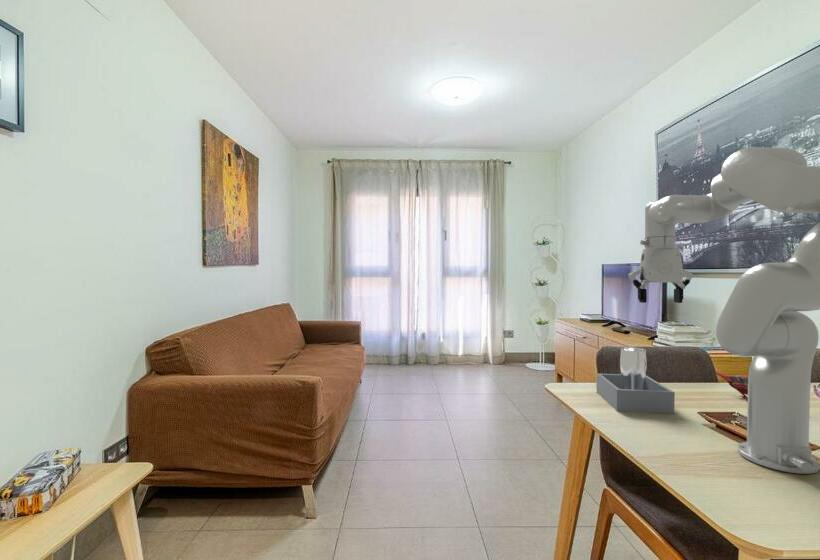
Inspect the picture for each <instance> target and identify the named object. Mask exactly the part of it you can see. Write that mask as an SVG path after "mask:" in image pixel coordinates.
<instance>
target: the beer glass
mask: <svg viewBox="0 0 820 560" xmlns="http://www.w3.org/2000/svg"><path fill="white" fill-rule="evenodd" d="M619 369H620V374H621V375H622V381H623V389H632V390H643V383H644V378H645V375H647V374H646V372H647V350H646V349H644V348H639V347H632V346H630V347H629V346H624V347H620V358H619Z"/></svg>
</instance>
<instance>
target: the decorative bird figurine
mask: <svg viewBox="0 0 820 560" xmlns="http://www.w3.org/2000/svg"><path fill="white" fill-rule="evenodd" d="M713 373H715V374H716V375H717V376H719V377H721V378H722V379H724V380H725V381H726V382H727V384H729V386H730V387H731V388H733V389H735V391H737V392H738V393H740V395H739V397H741V399H745V400H747V401H748V375H749V374H744V375H743V374H739V375H738V374H737V375H729V376H728V375H725V374H722V373H720V372H717V371H715V370H713Z"/></svg>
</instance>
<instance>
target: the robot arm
mask: <svg viewBox="0 0 820 560" xmlns="http://www.w3.org/2000/svg"><path fill="white" fill-rule="evenodd" d="M751 201H753V202H756V203H757V204H759V205H761V206H764V207H766V208H768V209H769V210H773V211H777V212H778V213H787V214H820V165H819V166H818V165H808V162H807V159H806V158H805V156H804V154H802V153H800V152H799V151H797V150H795V149H792V148H785V147H766V146H764V147H763V146H749V147H744V148H741V149H739V150H737V151H735V152H733V153H732V154H730V155H729V156H728V157H727V158H726V159H725V161H724V162H723V164H722V167H721V171H720V172H719V174H716V175H715V177H714V178H713V179H712V180H711V182H710V193H707V194H704V195H699V194H698V195H697V194H692V195H691V194H671V195H667V196H665V197H662V198H660V199H659V200H656V201H651V202H649V203H647V204H646V205H645V208H644V214H645V215H644V230H645V231H644V237H645V238H644V239H641V240H640V242H639V243H640V245H641V246H644V248H642V251H641V258H640V263H639V268H638V269H636V270H634V271H632V272H630V273H628V274H627V276H628V278H629V280H630V283H631V284H632V285H633V286H634V287H635V288H636V289H637V300H638V302H639V303H643V304H646V303H647V298H648V297H647V294H648V293H647V289H646V287H647V285H648V284H649V283H671V284H672V285H673V286H674V287H675V288H673V302H674V303H677V304H683V300H684V289H686V288H687V286H688V285H689V284H690V283H691V280H692V278H693V276H694V274H693V273H692V272H690V271H688V270H685V269H684V268H683V259H682V255H681V251H680V248H679V247H677V246H676V244H677V242H676V241H677V240H676V224H704V223H708V222H712V221H716V220H718V219H721V218H725V217H727V216H729V215H731V214H732V213H734V212H735V211H736V210H737V208H738V207H739V206H740V205H742V204H744V203H745V204H746V203H748V202H751ZM638 275H639V280H640V281H639V280H638V279H637V276H638ZM683 278H684V279H683ZM819 310H820V221H819V222H818V223H816V224H815V225H814V226H813V227H812V228H811V229H810V230H809V231H807V232H806V233H805V234H804V236H803V237H802V238H801V240H800V242H799V244H798V246H797V248H796V250H795V251H794V253H793V254H792V255H791V257H790V258H789V259H788V260H787V261H784V262H765V263H759V264H756V265H754V266H752V267H750V268H749V269H747V270H746V271H745V272H744V273H743V274H741V276H740V277H739V279H738V281H737V282H736V284H735V286H734V288H733V289H732V291H731V293H730V296H729V298H728V299H727V302H726V304H725V306H724V308H723V309H722V311H721V313H720V315H719V318H718V320H717V322H716V327H715V335H716V340H717V343H718V344H719V346H720V347H721V348H722V349H723V350H725V351H726V352H727V353H730V354H731V355H734V356H739V357H740V356H741V357H753V358H752V361H751V363H750V364H749V365H750V366H749V369H748V374H747V375H748V395H747V397H748V400H747V419H746V420H747V425H746V441H742V442H739V443H738V444H737V445H736V446H737V452H738V454H739V455H740V456H742V458H745V459H746V460H748V461H749V462H753V463H754V464H757V465H760V466H761V467H762V466H763V467H766V468H769V469H772V470H776V471H780V472H785V473H791V474H800V475H807V474H808V475H810V474H815V473H818V472H819V470H820V462H819V461H817V460H816V459H815V458H814V457H812V454H813V453H812V448H810V447H809V446H810V444H809V443H810V408H811V407H810V406H811V405H810V404H811V403H810V402H811V379H812V377H811V376H812V368H813V363H814V357H815V355H816V352H817V347H818V343H819V330H818V327H817V325H816V324H815V322H814V321H813V320H812V319H811V318H810V317H809V316H808V315H806V314H804V313H802V312H811V311H814V312H815V311H819Z"/></svg>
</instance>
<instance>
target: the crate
mask: <svg viewBox="0 0 820 560" xmlns="http://www.w3.org/2000/svg"><path fill="white" fill-rule="evenodd" d="M596 391H597V392H598V393H599V394H600V395H601V397H602V398H603V400H605V401H606V403H607V404H608V405H610V406H611V408H613V409H614V410H615V411H616V412H628V413H629V412H631V413H633V412H634V413H635V412H636V413H649V412H650V413H652V414H653V413H655V414H675V397H676V396H675V391H673V390H672V389H670V388H668V387H666V386H665V385H663V384H661V382H658V381H656V380H654V379H653V378H651V377H649V376H648V375H647V374H645V378H644V383H643V390H632V389H623V381H622V375H621V373H620V374H619V373H596ZM597 392H596V393H597ZM598 393H597V394H598ZM599 394H598V395H599Z"/></svg>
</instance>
